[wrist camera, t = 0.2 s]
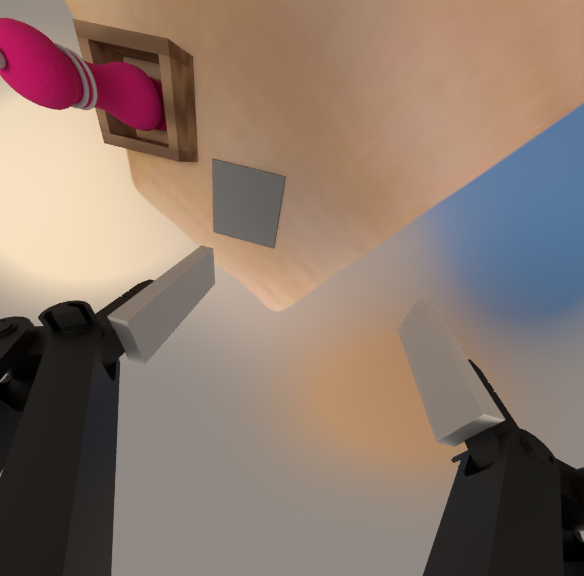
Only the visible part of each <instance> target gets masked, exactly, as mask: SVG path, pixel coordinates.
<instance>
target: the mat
mask: <svg viewBox="0 0 584 576" xmlns="http://www.w3.org/2000/svg"><path fill="white" fill-rule="evenodd" d="M212 164H213V225H214V232H215V233H219V234H223V235H226V236H230V237H234V238H237V239H241V240H245V241H248V242H252V243H256V244H260V245H263V246H267V247H271V248H274V246H275V240H276V234H277V227H278V221H279V215H280V208H281V202H282V196H283V189H284V183H285V177H284V176H280V175H276V174H272V173H268V172H264V171H260V170H256V169H252V168H248V167H244V166H240V165H235V164H231V163H227V162H223V161H219V160H215V159H212Z"/></svg>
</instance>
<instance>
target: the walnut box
mask: <svg viewBox="0 0 584 576" xmlns="http://www.w3.org/2000/svg"><path fill="white" fill-rule="evenodd" d="M73 22H74V26H75V30H76V34H77V38H78V42H79V46H80V50H81V54H82V57H83V60H84V61H86V62H89V63H93V64H97V65H103V64H106V63H110V62H123V58H122V56H126V57H130V58H135V59H140V60H144V61H149V62H153V63H158V64H160V72H161V81H162V90H163V99H164V108H165V117H166V125H167V134H168V143H169V145H168V144H164V143H159V142H155V141H151V140H147V139H143V138H139V137H137V136H136V130H135V128H132V127H130V126H128V125H126V124H125V123H123V122H121V121H120V120H119V119H117V118H116V117H114V116H113V115H112V114H110V113H108V112H106V111H104V110H102V109H99V108H96V107H95V108H96V112H97V116H98V120H99V124H100V128H101V132H102V136H103V139H104V143H106V144H110V145H114V146H118V147H122V148H127V149H131V150H135V151H139V152H143V153H147V154H151V155H155V156H159V157H163V158H167V159H171V160H175V161H179V162H198V155H197V135H196V115H195V95H194V75H193V56H191V55H190V54H188V53H187V52H186V51H184V50H183V49H181V48H180V47H179V46H177V45H176V44H174V43H173V42H172V41H170V40H169V39H166V38H162V37H157V36H152V35H147V34H143V33H138V32H133V31H128V30H123V29H119V28H114V27H109V26H104V25H99V24H95V23H90V22H85V21H80V20H76V19H73Z"/></svg>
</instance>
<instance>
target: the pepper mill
mask: <svg viewBox="0 0 584 576" xmlns="http://www.w3.org/2000/svg"><path fill="white" fill-rule="evenodd" d="M0 75H1V76H2V78H3V79H4V80H5V81H6V82H7V83H8V84H9V85H10V86H11V87H12V88H13V89H14V90H15V91H16V92H18V93H19V94H20V95H22V96H23V97H25V98H26V99H28V100H30V101H32V102H34V103H36V104H38V105H40V106H44V107H47V108H50V109H57V110H62V109H66V108H69V107H70V106H71V107H74V108H80V109H83V110H90V109H92V108H93V107H96V108H99V109H102V110H104V111H106V112H108V113H110V114H112V115H113V116H114V117H116V118H117V119H119V120H120V121H121V122H123V123H125V124H126V125H128V126H130V127H132V128H135V129H139V130H142V131H149V130H152V129H158V130H167V125H166V117H165V108H164V99H163V90H162V83H161V82H159V81H157V80H155V79H153V78H151V77H149V76H148V75H147V74H146V73H145V72H144V71H142V70H141V69H140V68H138V67H136V66H134V65H132V64H129V63H125V62H110V63H106V64H103V65H97V64H93V63H89V62H86V61H84V60H83V59H82V58H81V57H80V56H79V55H78V54H77V53H75V52H74V51H72V50H70V49H68V48H65V47H63V46H61V45H59V44H56V43H53V42H52V41H51V40H50V39H49V38H48V37H47V36H45V35H44V34H43V33H42V32H40V31H38V30H37V29H35V28H34V27H32V26H30V25H28V24H25V23H23V22H20V21H17V20H14V19H10V18H0Z"/></svg>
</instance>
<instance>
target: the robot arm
mask: <svg viewBox="0 0 584 576" xmlns="http://www.w3.org/2000/svg"><path fill="white" fill-rule="evenodd" d="M214 284H215V275H214V254H213V248H210V247H206V246H200V247H199V248H198V249H196V250H195V251H194V252H192V253H191V254H190V255H188V256H187V257H186V258H184V259H183V260H182V261H180V262H179V263H178V264H177V265H175V266H174V267H172V268H171V269H170V270H168V271H167V272H166V273H164V274H163V275H162V276H160V277H159V278H158V279H157V280H155V281H154V280H147V281H144V282H142V283H139V284H137V285H136V286H134V287H133V288H132V289H130V290H129V292H126V293H124V294H123V295H122V297H119V298H117V299H116V300H115V301H113V302H112V303H110V304H109V305H107V306H106V307H105V308H103V309H102V310H100V311H99V312H97V313H96V314H94V312H93V310H92V308H91V306H90V304H88V303H86V302H84V301H67V302H63V303H59V304H57V305H54V306H52V307H49V308H48V309H46V310H45V311H43V312H42V313H41V314H40V315H39V316H38V319H39V320H40V321H41V323H42V324H43V325H44V326H34V325H33V323H32V322H31V321H30V320H29V319H28V318H25V317H8V318H4V319H0V380H1V379H2V377H3V376H4V375H5V374H8V375H7V376H6V378H5V379H4V380H3V381H1V382H0V473H1V471H2V470H3V471H2V474H1V477H0V576H111V565H112V564H111V563H112V542H113V518H114V495H115V471H116V448H117V424H118V423H117V422H118V401H119V399H118V398H119V376H120V361H119V357H120V356H121V355H122V354H123V353H124V352H125V353H126V355H127V357H128V359H129V360H131V361H134V362H138V363H142V364H146V363H147V362H148V360H149V359H150V358H151V357H152V356H153V355H154V353H155V352H156V351H157V350H158V349H159V348H160V346H161V345H162V344H163V343H164V342H165V341H166V340H167V338H168V337H169V336H170V335H171V334H172V333H173V331H174V330H175V329H176V328H177V327H178V326H179V325H180V323H181V322H182V321H183V320H184V319H185V318H186V316H187V315H188V314H189V313H190V312H191V311H192V310H193V308H194V307H195V306H196V305H197V304H198V303H199V301H200V300H201V299H202V298H203V297H204V296H205V294H206V293H207V292H208V291H209V290H210V288H212V286H213V285H214ZM397 330H398V333H399V335H400V339H401V341H402V344H403V347H404V350H405V353H406V356H407V359H408V361H409V364H410V367H411V370H412V373H413V376H414V379H415V381H416V384H417V387H418V390H419V393H420V396H421V398H422V402H423V404H424V407H425V410H426V413H427V416H428V419H429V422H430V424H431V427H432V430H433V433H434V436H435V439H436V442H439V443H443V444H446V445H450V446H454V447H455V446H457V445H459V444H460V443H462V442H464V441H465V444H466V446H467V448H468V450H467V451H465V452H463V453H461V454H459V455H457V456H455V457H453V458H452V462H453V463H454V462H457V461H459V460H461V462H460V465H459V466H458V467H459V468H458V471H457V474H456V477H455V480H454V483H453V486H452V489H451V492H450V495H449V498H448V501H447V504H446V507H445V510H444V513H443V516H442V519H441V522H440V526H439V528H438V531H437V534H436V537H435V540H434V543H433V546H432V549H431V553H430V555H429V558H428V562H427V564H426V567H425V571H424V573H423V576H584V541H583V539H582V537H581V534H580V531H584V467H583V468H579V469H575V468H573V467H571V466H569V465H568V464H566V463H564V462H562V461H560V460H558V459H556V458H555V457H554V456H553V454H552V452H551V451H550V450H549V449H548V448H547V447H546V446H545V444H544V443H542V442H541V441H540V440H539V439H538V438H537V437H535V436H534V435H532V434H531V433H529V432H527V431H526V430H523V429H520V428H519V427H518V426H517V424H516V423H515V421H514V420H513V418H512V417H511V415H510V414H509V412H508V411H507V409H506V407H505V406H504V405H503V403H502V401H501V400H500V398H499V397H498V395H497V394H496V393H495V392H494V389H493V388H492V386H491V385H490V383H488V380H487V379H486V377H485V376H484V374H483V373H482V371H481V370H480V369H479V368H478V367H477V366H476V365H475V364H474V363H473V362H472V361H471V360H469V359H467V358H466V356H465V355H464V353H463V352H462V350H461V348H460V347H459V345H458V344H457V342H456V341H455V339H454V337H453V336H452V334H451V333H450V331H449V329H448V328H447V326H446V325H445V323H444V321H443V320H442V318H441V317H440V315H439V313H438V312H437V310H436V309H435V307H434V306H433V304H432V302H429V301H425V300H421V299H419V300H418V301H417V302H416V304H415V305H414V307H413V308H412V309H411V311H410V312H409V314H408V315H407V317H406V318H405V319H404V321H403V322H402V324H401V325H400V327H399V328H398V329H397Z"/></svg>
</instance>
